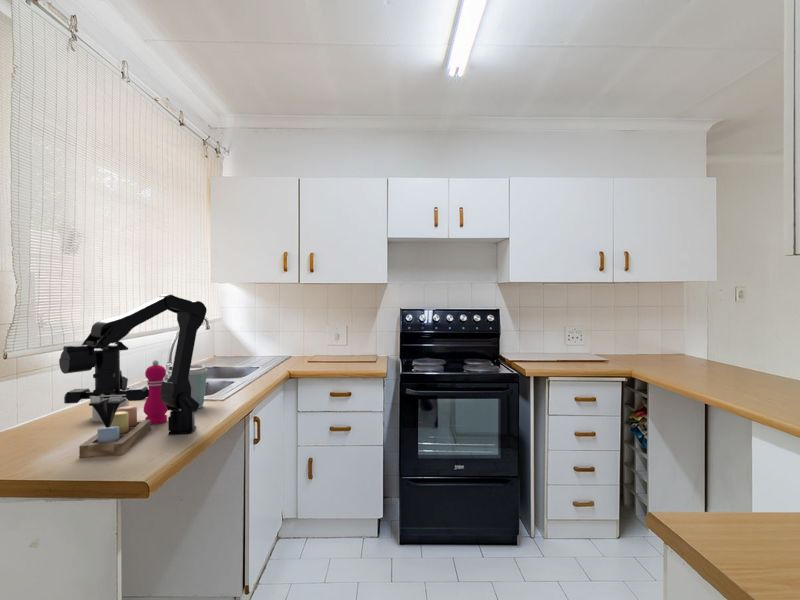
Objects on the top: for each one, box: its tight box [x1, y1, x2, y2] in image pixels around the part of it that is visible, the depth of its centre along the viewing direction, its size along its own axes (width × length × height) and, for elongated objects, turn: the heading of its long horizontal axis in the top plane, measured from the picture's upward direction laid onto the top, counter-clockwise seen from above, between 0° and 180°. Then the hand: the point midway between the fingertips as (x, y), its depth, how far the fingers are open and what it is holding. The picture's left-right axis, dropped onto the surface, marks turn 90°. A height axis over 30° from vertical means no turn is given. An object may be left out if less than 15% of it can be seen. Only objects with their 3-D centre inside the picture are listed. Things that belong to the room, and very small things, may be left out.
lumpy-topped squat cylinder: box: [91, 394, 130, 422], centre depth 166 cm, size 10×13×9 cm
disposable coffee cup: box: [189, 364, 209, 409], centre depth 179 cm, size 11×11×15 cm
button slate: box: [96, 426, 119, 443], centre depth 131 cm, size 5×5×5 cm
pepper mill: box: [143, 360, 169, 425], centre depth 159 cm, size 7×7×20 cm
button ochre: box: [111, 412, 129, 434], centre depth 138 cm, size 5×5×5 cm
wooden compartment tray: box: [78, 419, 152, 458], centre depth 138 cm, size 10×24×3 cm, turn 11°
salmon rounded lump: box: [117, 405, 138, 427], centre depth 144 cm, size 5×5×5 cm
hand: (108, 427), depth 131 cm, fingers closed
